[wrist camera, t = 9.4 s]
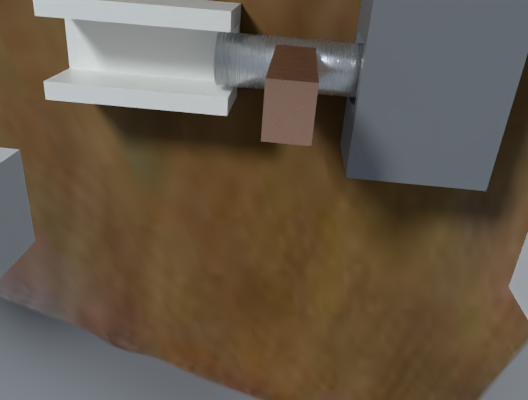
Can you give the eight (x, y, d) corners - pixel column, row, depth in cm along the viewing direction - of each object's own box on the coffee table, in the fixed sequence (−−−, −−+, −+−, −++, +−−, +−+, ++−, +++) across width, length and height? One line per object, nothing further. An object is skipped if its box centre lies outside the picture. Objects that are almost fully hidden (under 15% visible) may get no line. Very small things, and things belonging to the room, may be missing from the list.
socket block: (366, -37, 32) (378, -34, 27) (508, -25, 32) (549, -20, 26) (339, 144, 38) (345, 177, 32) (459, 155, 38) (486, 191, 32)
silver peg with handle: (223, 27, 33) (181, 66, 22) (464, 48, 33) (543, 98, 22) (221, 78, 35) (181, 138, 24) (451, 99, 34) (519, 169, 23)
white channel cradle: (67, -12, 34) (32, -6, 30) (241, 3, 34) (231, 11, 29) (77, 81, 37) (45, 99, 33) (236, 96, 37) (227, 116, 32)
